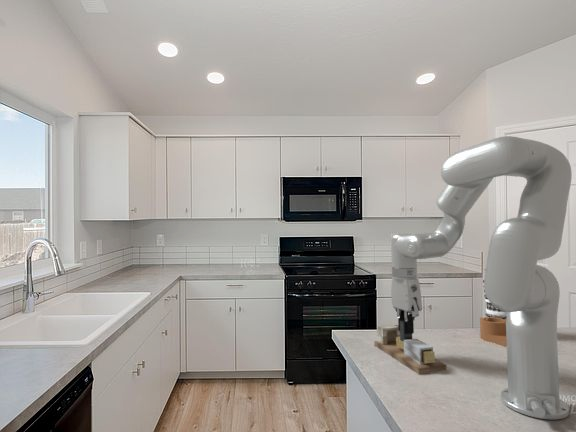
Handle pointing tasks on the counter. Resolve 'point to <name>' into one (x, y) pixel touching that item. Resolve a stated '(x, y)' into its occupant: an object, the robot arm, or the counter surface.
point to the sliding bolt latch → (406, 350)
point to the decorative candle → (494, 309)
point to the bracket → (493, 330)
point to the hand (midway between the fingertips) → (406, 331)
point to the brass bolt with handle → (427, 355)
